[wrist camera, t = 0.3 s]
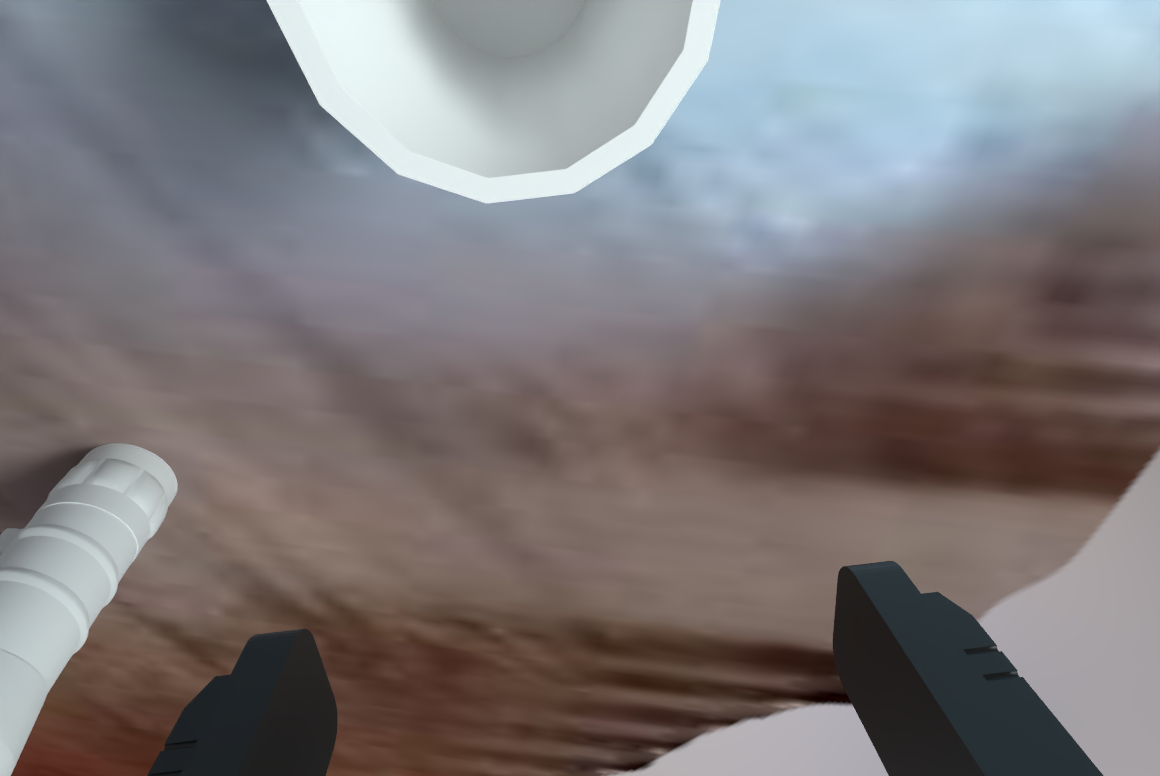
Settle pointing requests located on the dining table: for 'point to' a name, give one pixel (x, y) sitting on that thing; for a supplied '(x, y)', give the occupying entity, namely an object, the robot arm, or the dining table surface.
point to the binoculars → (70, 573)
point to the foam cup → (500, 83)
